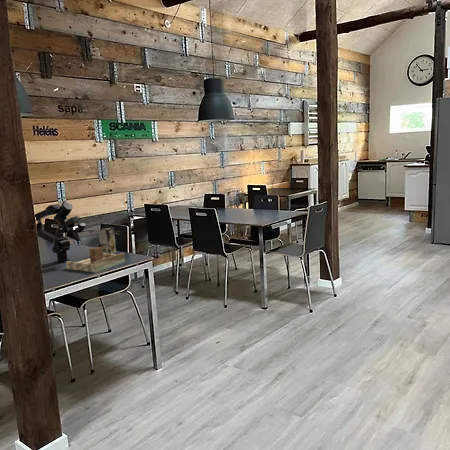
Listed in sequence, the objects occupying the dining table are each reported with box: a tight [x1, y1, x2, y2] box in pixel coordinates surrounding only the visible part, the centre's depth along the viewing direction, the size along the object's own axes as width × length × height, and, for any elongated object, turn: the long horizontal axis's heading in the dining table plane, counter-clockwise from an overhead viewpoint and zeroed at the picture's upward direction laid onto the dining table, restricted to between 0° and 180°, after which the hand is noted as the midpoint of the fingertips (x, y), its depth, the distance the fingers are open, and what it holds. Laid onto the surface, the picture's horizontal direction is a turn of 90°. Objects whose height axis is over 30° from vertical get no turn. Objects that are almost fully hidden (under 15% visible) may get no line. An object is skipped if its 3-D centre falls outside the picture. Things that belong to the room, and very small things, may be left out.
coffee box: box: [98, 227, 117, 254], centre depth 283 cm, size 9×6×16 cm
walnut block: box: [88, 246, 103, 263], centre depth 256 cm, size 5×5×8 cm
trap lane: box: [65, 252, 126, 273], centre depth 257 cm, size 22×23×6 cm
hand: (79, 240), depth 261 cm, fingers closed
